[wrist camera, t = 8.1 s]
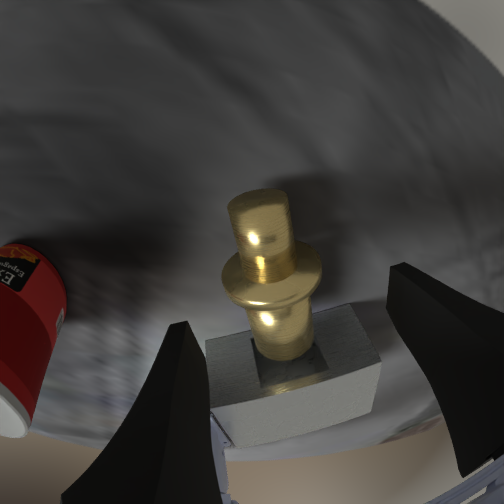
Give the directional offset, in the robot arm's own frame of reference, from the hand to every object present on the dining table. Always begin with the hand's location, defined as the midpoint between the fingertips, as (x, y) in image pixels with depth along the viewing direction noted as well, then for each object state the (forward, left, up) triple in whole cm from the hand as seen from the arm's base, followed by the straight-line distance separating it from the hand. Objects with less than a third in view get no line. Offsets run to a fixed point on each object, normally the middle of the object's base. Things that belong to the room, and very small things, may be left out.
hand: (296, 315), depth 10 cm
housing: (-14, 0, -10) cm, 17 cm away
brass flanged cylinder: (-3, 0, -10) cm, 10 cm away
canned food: (-1, +18, -10) cm, 21 cm away
